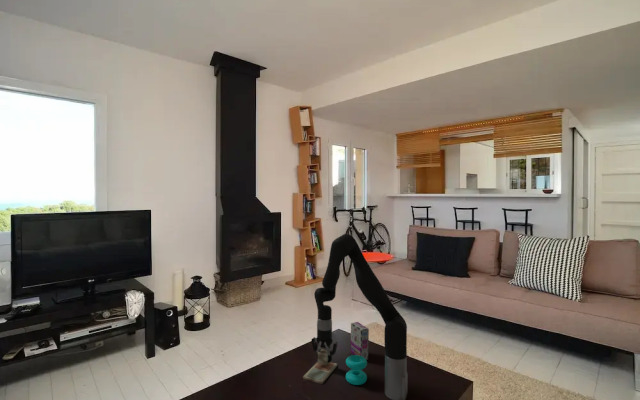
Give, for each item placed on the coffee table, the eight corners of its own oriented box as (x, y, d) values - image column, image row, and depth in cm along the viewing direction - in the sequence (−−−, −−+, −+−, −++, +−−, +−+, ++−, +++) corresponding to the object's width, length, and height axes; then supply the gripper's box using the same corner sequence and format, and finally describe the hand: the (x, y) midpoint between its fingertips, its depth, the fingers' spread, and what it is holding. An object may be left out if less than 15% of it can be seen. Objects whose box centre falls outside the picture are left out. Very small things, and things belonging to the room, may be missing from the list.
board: (337, 365, 162) (337, 363, 162) (322, 384, 146) (322, 381, 146) (319, 361, 167) (319, 359, 167) (303, 378, 150) (303, 376, 150)
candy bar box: (369, 359, 169) (369, 328, 169) (361, 361, 167) (361, 330, 167) (357, 350, 179) (358, 321, 179) (350, 352, 177) (350, 322, 177)
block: (330, 360, 161) (330, 350, 161) (326, 365, 157) (326, 355, 157) (321, 358, 164) (321, 348, 164) (317, 363, 159) (317, 353, 159)
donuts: (341, 360, 148) (351, 351, 156) (341, 381, 148) (351, 372, 156) (361, 366, 143) (370, 357, 151) (361, 388, 143) (370, 378, 151)
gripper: (340, 326, 161) (340, 360, 161) (315, 322, 167) (314, 354, 167) (334, 332, 154) (334, 367, 154) (308, 327, 160) (308, 361, 160)
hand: (324, 360), depth 160 cm, fingers closed on block, 5 cm apart
